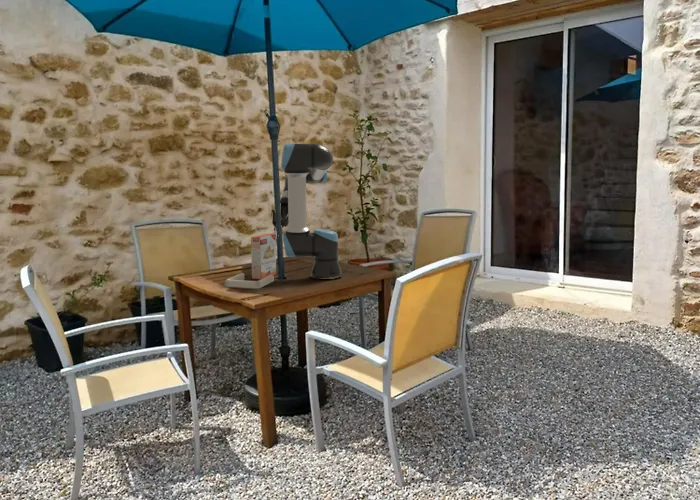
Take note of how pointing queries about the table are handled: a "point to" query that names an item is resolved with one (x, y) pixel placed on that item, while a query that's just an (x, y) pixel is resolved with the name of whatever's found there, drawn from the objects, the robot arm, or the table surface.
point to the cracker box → (263, 255)
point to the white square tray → (247, 282)
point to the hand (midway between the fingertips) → (275, 236)
